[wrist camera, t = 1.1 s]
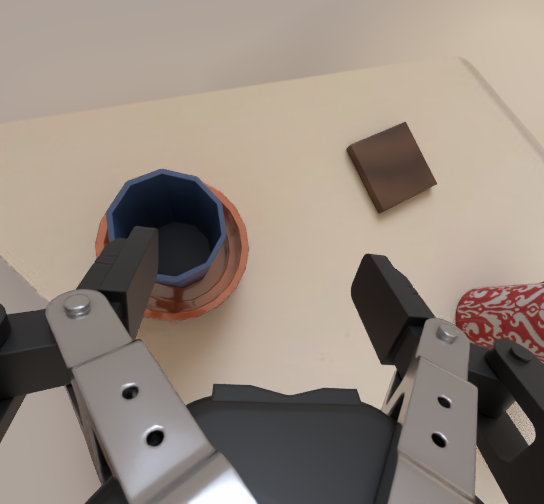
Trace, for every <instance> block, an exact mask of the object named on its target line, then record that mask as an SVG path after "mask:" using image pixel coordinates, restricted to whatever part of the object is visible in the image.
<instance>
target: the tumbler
mask: <svg viewBox="0 0 544 504" xmlns="http://www.w3.org/2000/svg"><path fill="white" fill-rule="evenodd" d="M106 212H107V213H106V219H107V228H108V237H109V243H110V242H112V241H113V240H115V239H117V238H124V239H127V238H128V237H129V235H130V233H131V232H132V230H133V228H134V227H135V226H140V227H149V228H157V229H158V274H157V279H156V282H155V283H158V284H161V285H166V286H173V287H179V288H185V287H187V286H189V285H191V284H193V283H195V282H197V281H199V280H201V279H203V278H204V277H205V275H206V273H207V271H208V269H209V268H210V266H211V264H212V262H213V260H214V259H215V257H216V255H217V253H218V251H219V249H220V248H221V246H222V244H223V242H224V240H225V238H226V235H227V234H226V227H225V220H224V213H223V206H222V203H221V201H220V200H219V199H218V198H217V197H216V196H215V195H214V194H213V192H212V191H211V190H210V189H209V188H208V187H207V186H206V185H205V184H204V183H203V182H202V181H201V180H200V179H199V178H197V177H196V176H192V175H187V174H183V173H179V172H174V171H170V170H166V169H162V170H161V169H159V170H156V171H154V172H151V173H148V174H145V175H143V176H140V177H137V178H135V179H132V180H129V181H127V182H126V183H125V184H124V186H123V187H122V189H121V190H120V192H119V193H118V195H117V196H116V198H115V199H114V201H113V202H112V204H111V205H110V207H109V208H108V210H107V211H106Z"/></svg>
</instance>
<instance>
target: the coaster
mask: <svg viewBox="0 0 544 504" xmlns="http://www.w3.org/2000/svg"><path fill="white" fill-rule="evenodd" d="M347 151H348V153H349V155H350V157H351V159H352V161H353V163H354V165H355V167H356V169H357V171H358V173H359V175H360V177H361V179H362V181H363V183H364V185H365V187H366V189H367V191H368V193H369V195H370V197H371V199H372V201H373V203H374V205H375V207H376V209H377V211H378V212H379V213H381V212H383V211H385V210H387V209H389V208H391V207H393V206H395V205H397V204H399V203H401V202H403V201H405V200H407V199H409V198H411V197H413V196H414V195H416V194H418V193H420V192H422V191H424V190H426V189H428V188H430V187H432V186H434V185H436V184H437V182H436V180H435V179H434V177H433V175H432V173H431V171H430V169H429V167H428V165H427V163H426V161H425V159H424V157H423V155H422V153H421V151H420V149H419V147H418V145H417V143H416V141H415V139H414V137H413V135H412V133H411V131H410V129H409V127H408V125H407V123H406V122H404V123H402V124H399V125H397V126H394V127H392V128H390V129H387V130H385V131H382V132H380V133H378V134H375V135H373V136H370V137H368V138H366V139H363V140H361V141H359V142H356V143H354V144H351V145H350V146H349V147H348V148H347Z"/></svg>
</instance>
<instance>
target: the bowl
mask: <svg viewBox="0 0 544 504" xmlns="http://www.w3.org/2000/svg"><path fill="white" fill-rule="evenodd" d="M203 183H204V182H203ZM204 184H205V185H206V186H207V187H208V188H209V189H210V190H211V191H212V192H213V194H214V195H215V196H216V197H217V198H218V199H219V200H220V201H221V203H222V206H223V213H224V220H225V227H226V234H227V235H226V238H225V240H224V242H223V244H222V246H221V248H220V249H219V251H218V253H217V255H216V257H215V259H214V260H213V262H212V264H211V266H210V268H209V269H208V271H207V273H206V275H205V277H204V278H203V279H201V280H199V281H197V282H195V283H193V284H191V285H189V286H187V287H185V288H179V287H173V286H166V285H161V284H158V283H155V285H154V287H153V290H152V293H151V296H150V298H149V301H148V304H147V307H146V309H145V312H144V316H146V317H148V318H153V319H160V320H168V321H178V320H183V319H189V318H195V317H199V316H201V315H202V314H204V313H206V312H208V311H210V310H212V309H214V308H216V307H218V306H219V305H220V304H221V303H222V302H223V301H224V300H225V299H226V298H227V297H228V296H229V295H230V294H231V293H232V292H233V291H234V290H235V289H236V287H237V285H238V283H239V281H240V279H241V277H242V276H243V274H244V272H245V269H246V263H247V257H248V251H249V245H248V239H247V232H246V227H245V225H244V223H243V221H242V219H241V217H240V215H239V213H238V211H237V209H236V207H235V206H234V205H233V204H232V203H231V202H230V201H229V200H228V199H227V198H226V197H225V196H224V195H223V194H222V193H221V192H220V191H218V190H216V189H215V188H213V187H211V186H209V185H208V184H206V183H204ZM106 213H107V212H106ZM108 243H109V237H108V228H107V219H106V214H105V215H104V217H103V218H102V220H101V222H100V226H99V230H98V234H97V238H96V242H95V248H96V258H98V256H100V253H101V252H102V250H103V249H104V247H105V246H106V245H107V244H108Z"/></svg>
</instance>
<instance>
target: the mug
mask: <svg viewBox="0 0 544 504" xmlns="http://www.w3.org/2000/svg"><path fill="white" fill-rule="evenodd" d="M456 322H457V327H458V328H459V329H460V330H462V331H463V332H464V333H465V335H466V336H467V337H468V339H469V342H470V343H473V344H476V345H480V346H483V347H486V348H489V349H490V347H491V346H492V345H493V344H494V342H495V341H496V340H498V339H506V340H510V341H513V342H516V343H518V344H520V345H522V346H523V347H525V348H527V349H528V350H529V351H531V352H532V353H533V354H534V355H535V356H536V357H537V358H538V359H539V360H540V361H541V362H542V363H543V364H544V282H541V283H538V284H525V285H511V286H499V287H482V288H476V289H472V290H470V291H469V292H467V293H466V294H465V295H464V296H463V297H462V299H461V300H460V302H459V305H458V308H457V313H456Z"/></svg>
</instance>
